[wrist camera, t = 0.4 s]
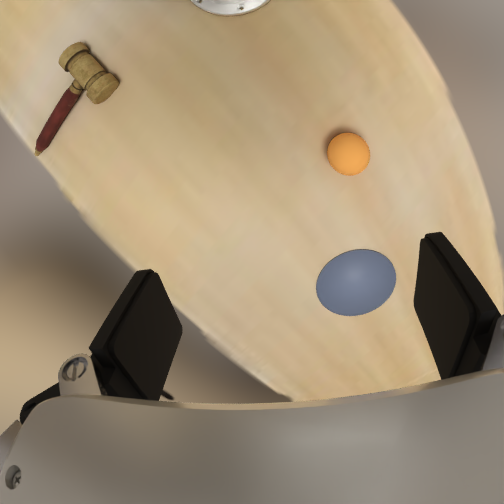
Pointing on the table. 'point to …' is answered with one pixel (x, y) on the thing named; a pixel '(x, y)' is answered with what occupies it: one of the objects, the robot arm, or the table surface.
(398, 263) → the table surface
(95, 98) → the gavel
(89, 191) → the table surface
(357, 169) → the ball
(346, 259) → the disc
